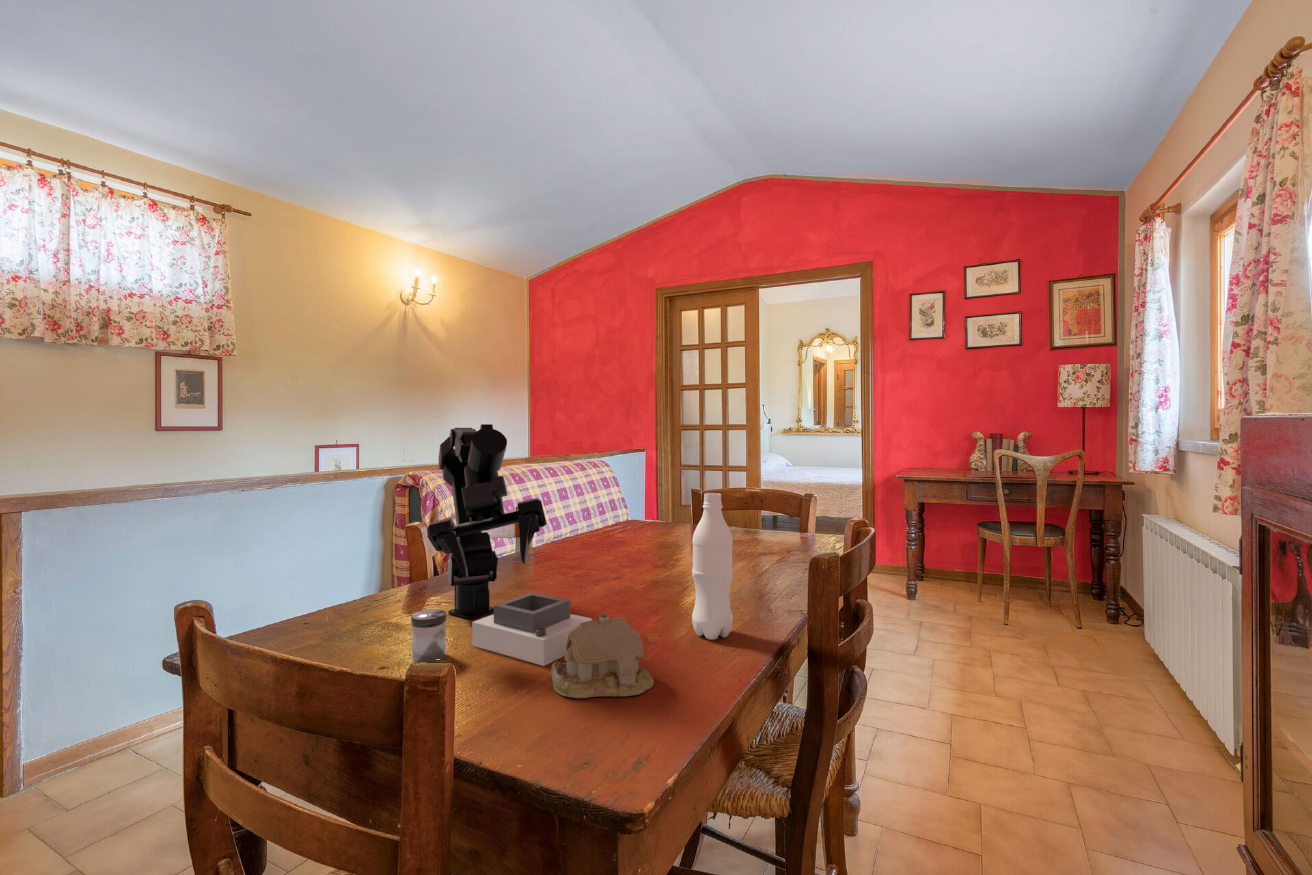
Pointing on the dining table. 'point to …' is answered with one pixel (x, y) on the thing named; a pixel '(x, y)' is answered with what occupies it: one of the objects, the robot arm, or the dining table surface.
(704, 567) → the water bottle
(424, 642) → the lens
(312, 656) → the dining table surface
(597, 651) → the ceramic model
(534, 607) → the tray on white base
